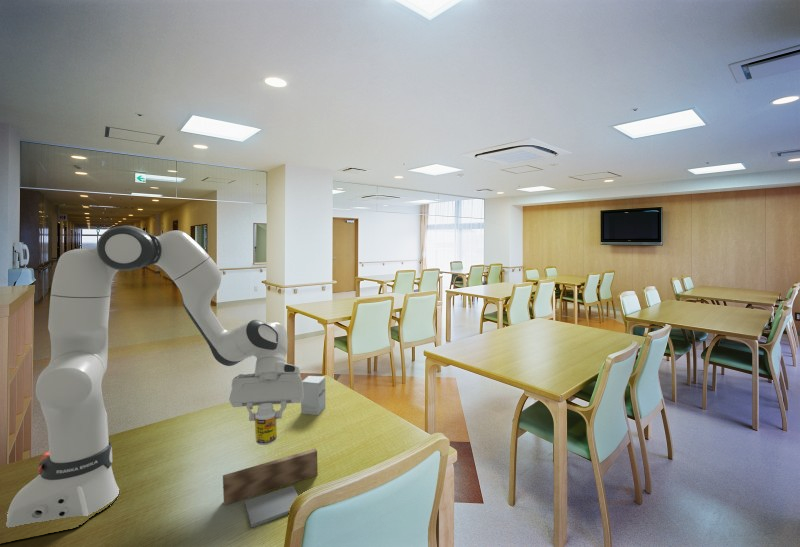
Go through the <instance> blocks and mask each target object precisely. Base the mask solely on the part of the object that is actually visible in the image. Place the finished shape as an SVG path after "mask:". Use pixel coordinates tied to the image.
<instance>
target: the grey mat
mask: <svg viewBox="0 0 800 547" xmlns="http://www.w3.org/2000/svg"><path fill="white" fill-rule="evenodd" d="M297 496H299V494H298V493H297V490H296V489H295V486H294V485H290V486H286V487H284V488H281V489H278V490H275V491H272V492H271V491H270V492H269V493H265V494H262V495H258V496H257V497H253V498H250V499H247V500H245V501H244V505H245V509H246V513H247V516H248V520H249V523H250V528H255V527H257V526H259V525H262V524H265V523H268V522H270V521H273V520H276V519H279V518H282V517H284V516H286V515H289V514H288V513H289V509H290V506H291V504H292V502H293V501H294V499H295V498H296V497H297Z"/></svg>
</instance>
